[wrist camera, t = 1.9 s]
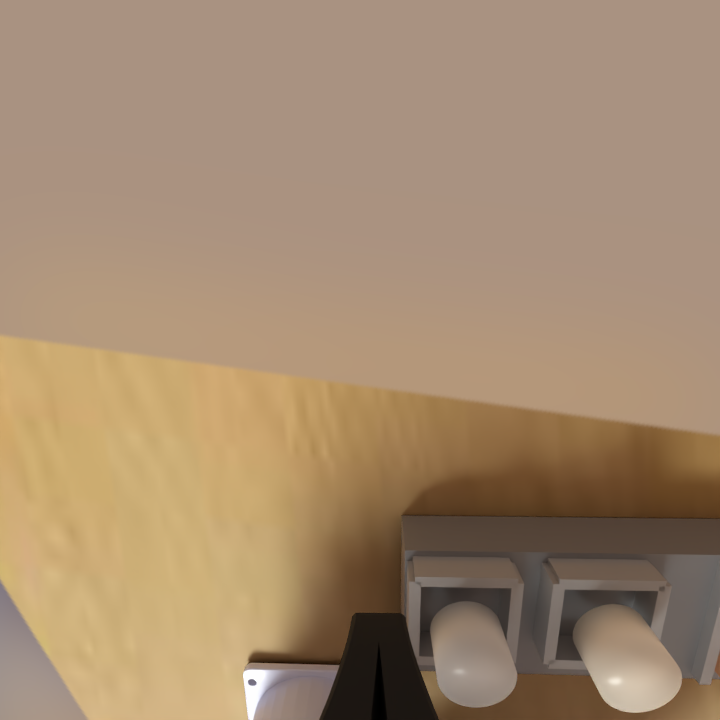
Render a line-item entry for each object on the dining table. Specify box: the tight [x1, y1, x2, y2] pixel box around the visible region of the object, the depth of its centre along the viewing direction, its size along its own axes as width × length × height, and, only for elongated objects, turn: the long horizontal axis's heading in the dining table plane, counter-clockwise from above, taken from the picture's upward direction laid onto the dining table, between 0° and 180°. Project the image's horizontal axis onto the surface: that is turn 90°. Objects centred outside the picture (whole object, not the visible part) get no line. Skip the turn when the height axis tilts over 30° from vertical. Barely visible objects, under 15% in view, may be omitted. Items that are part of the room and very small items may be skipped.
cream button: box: [573, 604, 682, 713], centre depth 16 cm, size 3×3×2 cm
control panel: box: [401, 515, 720, 685], centre depth 19 cm, size 7×19×4 cm, turn 91°
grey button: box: [430, 601, 517, 708], centre depth 16 cm, size 3×3×2 cm
